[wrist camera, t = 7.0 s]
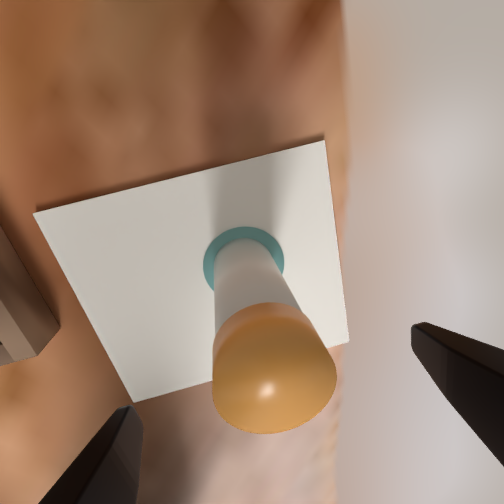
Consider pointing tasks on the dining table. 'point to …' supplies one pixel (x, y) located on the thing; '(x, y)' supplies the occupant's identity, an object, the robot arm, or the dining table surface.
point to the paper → (196, 259)
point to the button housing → (21, 310)
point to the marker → (264, 346)
